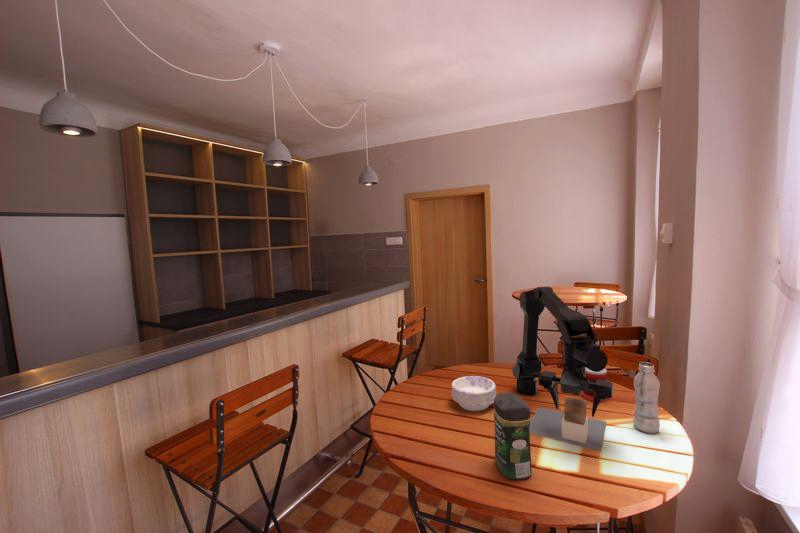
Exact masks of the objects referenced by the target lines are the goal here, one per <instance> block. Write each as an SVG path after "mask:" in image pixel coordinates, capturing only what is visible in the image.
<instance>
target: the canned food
mask: <svg viewBox="0 0 800 533" xmlns="http://www.w3.org/2000/svg"><path fill="white" fill-rule="evenodd" d="M586 377H588V378H589V382H592V383H596V381H597V379H599V380H605V381H608V372H607V369H606V367H605V368H604V369H603V370H602V371H599V372H594V371H591V370H590V369H588V368H586ZM594 394H595V390H591V389H589V390H588V391H582V397H583V399H585V400H586V401H588V402H589V401H590V402H592V403H593V400H594ZM607 400H608V398H607V399H606V400H601V401H600V403H604V402H607Z"/></svg>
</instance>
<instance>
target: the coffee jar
mask: <svg viewBox="0 0 800 533" xmlns="http://www.w3.org/2000/svg"><path fill="white" fill-rule="evenodd" d="M530 409H531V408H530V405H528V403H527V402H526V400H524V399H523V398H522V397H521V396H519V395H517V394H515V393H514V392H501V393H498V394H496V397H495V398H494V402H493V418H494V419H493V421H494V460H495V464H496V466H497V468H498V469H499V471H500V473H501V474H502V475H503V476H504V477H505V478H508V479H512V480H523V479H527V478H529V477H531V475H532V474H533V472H532V454H531V438H530V437H531V433H530V421H531V410H530Z"/></svg>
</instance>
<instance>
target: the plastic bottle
mask: <svg viewBox="0 0 800 533" xmlns="http://www.w3.org/2000/svg"><path fill="white" fill-rule="evenodd" d="M638 364H639V365H638V372H637V373H636V374H635V376H634V377H633V378H634V379H633V387H634V393H635V394H634V395H635V406H634V413H633V417H632V418H633V419H632V422H633V426H634V428H636V429H637V430H638V431H640V432H642V433H645V434H651V435H654V434H657V433H658V432H659V430H660V427H661V423H660V418H659V412H658V403H659V400H658V399H659V394H660V387H661V384H660V383H661V382H660V380H659V379H658V378H657V376H656V375H655V374H654V373H655V365H654V364H652V363H650V362H639V363H638Z"/></svg>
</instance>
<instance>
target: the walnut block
mask: <svg viewBox="0 0 800 533" xmlns="http://www.w3.org/2000/svg"><path fill="white" fill-rule="evenodd" d="M563 406H564V407H563V409H564V410H563V411H564V412H563V413H564V421H569V422H573V423H577V424H582V425H584V423H585V420H586V417H587V399H585V400H584V399H580V398H575V397H570V396H567V397H566V399H565V401H564V405H563Z"/></svg>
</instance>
